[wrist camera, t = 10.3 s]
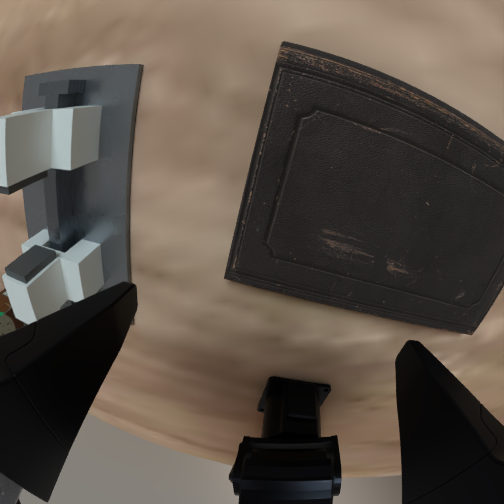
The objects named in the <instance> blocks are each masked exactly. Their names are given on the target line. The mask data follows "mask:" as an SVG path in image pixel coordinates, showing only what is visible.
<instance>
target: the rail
mask: <svg viewBox="0 0 504 504" xmlns="http://www.w3.org/2000/svg"><path fill="white" fill-rule="evenodd" d="M142 70H143V65H141V64H125V65H105V66H92V67H82V68H73V69H66V70H59V71H52V72H46V73H40V74H35V75H30V76H25V82H24V92H23V103H22V111H24V110H29V109H36V108H44V107H45V109H58V108H67V107H75V106H102V111H101V122H100V135H99V153H98V160H96V161H93V162H91V163H88V164H85V165H83V166H80V167H78V168H75V169H73V170H63V169H55V168H50V169H48V170H47V171H48V177H46V178H43V179H41V180H39V181H37V182H35V183H32V184H30V185H28V186H26V187H24V188H23V198H24V207H25V216H26V223H27V230H28V236H29V239H30V238H32V237H33V236H35V235H36V234H37V233H39V232H40V231H42V230H43V229H46V230H48V234H49V241H50V248H51V249H54V250H57V251H60V252H64V253H65V252H67V251H68V250H69V249H70V248H72V247H73V246H74V245H75V244H76V243H78V242H79V241H80V240H82V239H83V240H87V241H91V242H95V243H98V244H101V257H102V268H103V278H104V285H103V286H102V287H101V288H100V289H99V290H98V292H100V291H103V290H105V289H107V288H109V287H112V286H114V285H116V284H118V283H121V282H123V281H126V282H130V283H131V272H130V183H131V164H132V150H133V139H134V128H135V119H136V111H137V103H138V96H139V89H140V82H141V76H142ZM98 292H97V293H98ZM74 303H76V302H74V301H71V300H67V301H66V302H65V303H64V304H63V305H62V306H61V307H60V309H63V308H65V307H67V306H69V305H71V304H74ZM133 322H134V318H133V320H132V323H131V325H132V324H133Z"/></svg>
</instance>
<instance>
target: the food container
mask: <svg viewBox="0 0 504 504" xmlns="http://www.w3.org/2000/svg"><path fill="white" fill-rule="evenodd" d="M23 326H26V324H25V323H24V322H23V321H21V320H19V319H17V318H16V317H15V315H14V312H13V309H12V306H11V303H10V300H9V297H8V294H7V291H6V288H5V289H4V290H3V291H1V292H0V336H2V335H4V334H7V333H9V332H12V331H14V330H17V329H19V328H21V327H23Z"/></svg>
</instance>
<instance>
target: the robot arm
mask: <svg viewBox="0 0 504 504" xmlns="http://www.w3.org/2000/svg"><path fill="white" fill-rule="evenodd" d="M137 306H138V302H137V287H136V285H135V284H133V283H130V282H126V281H123V282H121V283H118V284H116V285H114V286H112V287H109V288H107V289H105V290H103V291H100V292H98V293H96V294H94V295H91V296H89V297H87V298H85V299H82V300H80V301H78V302H76V303H74V304H71V305H69V306H67V307H65V308H63V309H60V310H58V311H56V312H54V313H52V314H50V315H47V316H45V317H43V318H41V319H39V320H38V321H34V322H32V323H30V324H28V325H26V326H23V327H21V328H19V329H17V330H14V331H12V332H9V333H7V334H4V335H2V336H0V504H21V503H20V501H19V496H20V493H21V491H22V489H23V488H24V489H25V490H27V491H28V492H30V493H32V494H33V495H35V496H37V497H38V498H40V499H42V500H44V501H45V502H48V501H49V499H50V496H51V494H52V491H53V489H54V486H55V484H56V482H57V479H58V477H59V474H60V472H61V470H62V467H63V465H64V463H65V460H66V458H67V456H68V453H69V451H70V449H71V446H72V444H73V442H74V440H75V438H76V436H77V434H78V431H79V429H80V427H81V425H82V423H83V421H84V419H85V417H86V415H87V413H88V411H89V409H90V407H91V405H92V403H93V401H94V399H95V397H96V395H97V393H98V391H99V389H100V387H101V385H102V383H103V381H104V379H105V377H106V375H107V374H108V372H109V370H110V368H111V366H112V364H113V362H114V361H115V359H116V357H117V355H118V353H119V351H120V349H121V347H122V345H123V342H124V340H125V337H126V335H127V332H128V330H129V328H130V325H131V323H132V320H133V318H134V316H135V313H136V311H137ZM395 369H396V400H397V411H398V420H399V432H400V445H401V464H402V504H504V426H503V425H502V424H501V423H500V422H499V421H498V420H497V419H496V418H495V417H494V416H493V415H492V414H491V413H490V412H489V411H488V410H487V409H486V408H485V407H484V406H483V405H482V404H480V402H479V401H478V400H477V399H476V397H475V396H474V395H473V394H472V393H471V392H470V391H469V390H468V389H467V388H466V387H465V386H464V385H463V384H462V383H461V382H460V381H459V380H458V379H457V378H456V377H455V376H454V375H453V374H452V373H451V372H450V371H449V370H448V369H447V368H446V367H445V366H444V365H443V364H442V363H441V362H440V361H439V360H438V359H437V358H436V357H435V356H434V355H433V354H432V353H431V352H430V351H429V350H428V349H426V348H425V347H424V346H423V345H422V344H421V343H420V342H419V341H414V340H408V341H407V342H406V343H405V345H404V346H403V348H402V349H401V351H400V352H399V354H398V355H397V357H396V361H395ZM330 391H331V386H330V385H328V384H320V383H312V382H305V381H298V380H292V379H286V378H280V377H270V378H269V379H268V382H267V384H266V387H265V389H264V392H263V394H262V397H261V399H260V402H259V404H258V408H257V410H258V411H259V412H264V419H263V427H262V436H261V438H254V437H250V436H244V438H243V441H242V443H240V444H239V450H238V454H237V458H236V461H235V463H234V465H233V467H232V470H231V472H230V474H229V480H230V481H231V482H232V483H233V488H234V494H235V495H238V496H239V504H332V503H333V496H338V495H339V494H340V489H341V461H340V453H339V445H338V438H337V435H334V436H331V437H321V424H320V406H321V405H322V403H323V402H324V400H325V399H326V397H327V396H328V394H329V393H330Z"/></svg>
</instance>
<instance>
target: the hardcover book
mask: <svg viewBox="0 0 504 504" xmlns="http://www.w3.org/2000/svg"><path fill="white" fill-rule="evenodd" d="M224 279H228V280H232V281H235V282H239V283H243V284H247V285H251V286H254V287H258V288H262V289H266V290H270V291H274V292H278V293H282V294H286V295H290V296H294V297H298V298H302V299H306V300H310V301H314V302H318V303H323V304H327V305H331V306H335V307H340V308H344V309H348V310H353V311H357V312H361V313H366V314H370V315H375V316H379V317H384V318H388V319H393V320H398V321H402V322H407V323H412V324H417V325H422V326H427V327H431V328H436V329H442V330H447V331H452V332H457V333H462V334H468V335H473V333H474V332H475V330H476V329H477V328H478V326H479V325H480V323H481V322H482V320H483V319H484V317H485V316H486V314H487V313H488V311H489V309H490V308H491V306H492V305H493V303H494V301H495V300H496V298H497V297H498V295H499V293H500V291H501V290H502V288H503V286H504V141H503V140H502V139H500V138H499V137H497V136H496V135H495V134H493V133H492V132H490V131H489V130H488V129H486V128H485V127H483V126H482V125H480V124H479V123H477V122H476V121H474V120H472V119H471V118H469V117H468V116H466V115H465V114H463V113H461V112H460V111H458V110H456V109H455V108H453V107H451V106H449V105H448V104H446V103H444V102H442V101H441V100H439V99H437V98H435V97H433V96H431V95H429V94H427V93H426V92H424V91H422V90H420V89H418V88H416V87H413V86H411V85H409V84H407V83H405V82H403V81H401V80H399V79H396V78H394V77H392V76H389V75H387V74H385V73H382V72H380V71H377V70H375V69H372V68H370V67H367V66H365V65H362V64H359V63H357V62H354V61H351V60H348V59H345V58H342V57H339V56H336V55H333V54H330V53H326V52H323V51H320V50H316V49H313V48H309V47H305V46H302V45H298V44H294V43H289V42H285V41H283V42H282V44H281V47H280V50H279V53H278V57H277V61H276V65H275V68H274V72H273V76H272V80H271V84H270V88H269V91H268V95H267V99H266V103H265V107H264V111H263V115H262V119H261V123H260V127H259V131H258V135H257V139H256V143H255V147H254V151H253V155H252V159H251V163H250V168H249V172H248V176H247V180H246V184H245V189H244V193H243V197H242V201H241V206H240V210H239V214H238V218H237V223H236V227H235V232H234V236H233V240H232V245H231V249H230V254H229V258H228V263H227V267H226V272H225V276H224Z"/></svg>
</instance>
